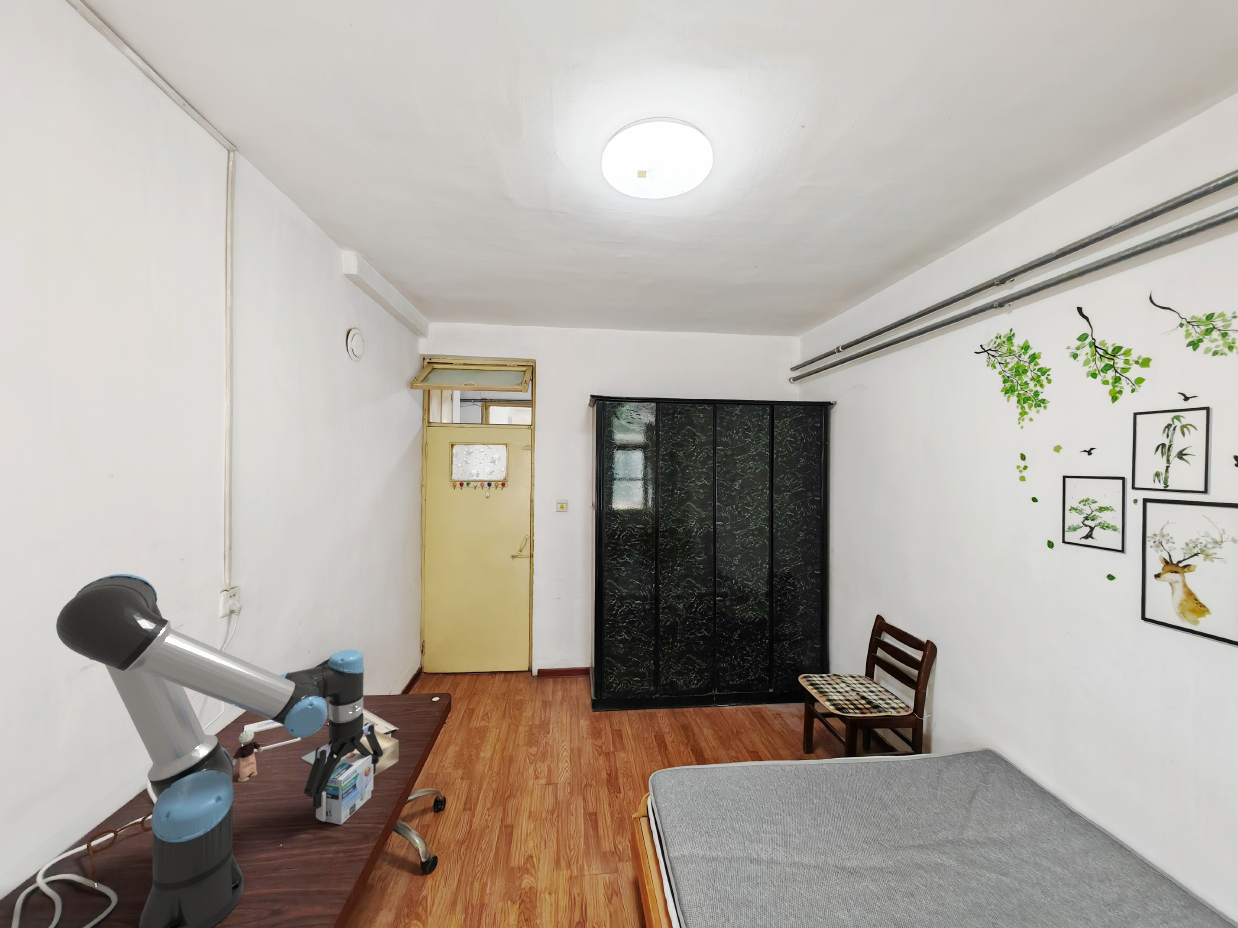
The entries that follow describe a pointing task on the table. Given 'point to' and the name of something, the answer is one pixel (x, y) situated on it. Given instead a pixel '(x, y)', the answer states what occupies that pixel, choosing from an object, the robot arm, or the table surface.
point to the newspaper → (376, 722)
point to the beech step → (388, 748)
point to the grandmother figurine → (246, 756)
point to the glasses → (112, 840)
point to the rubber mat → (311, 757)
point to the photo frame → (264, 726)
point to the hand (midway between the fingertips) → (345, 802)
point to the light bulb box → (348, 787)
